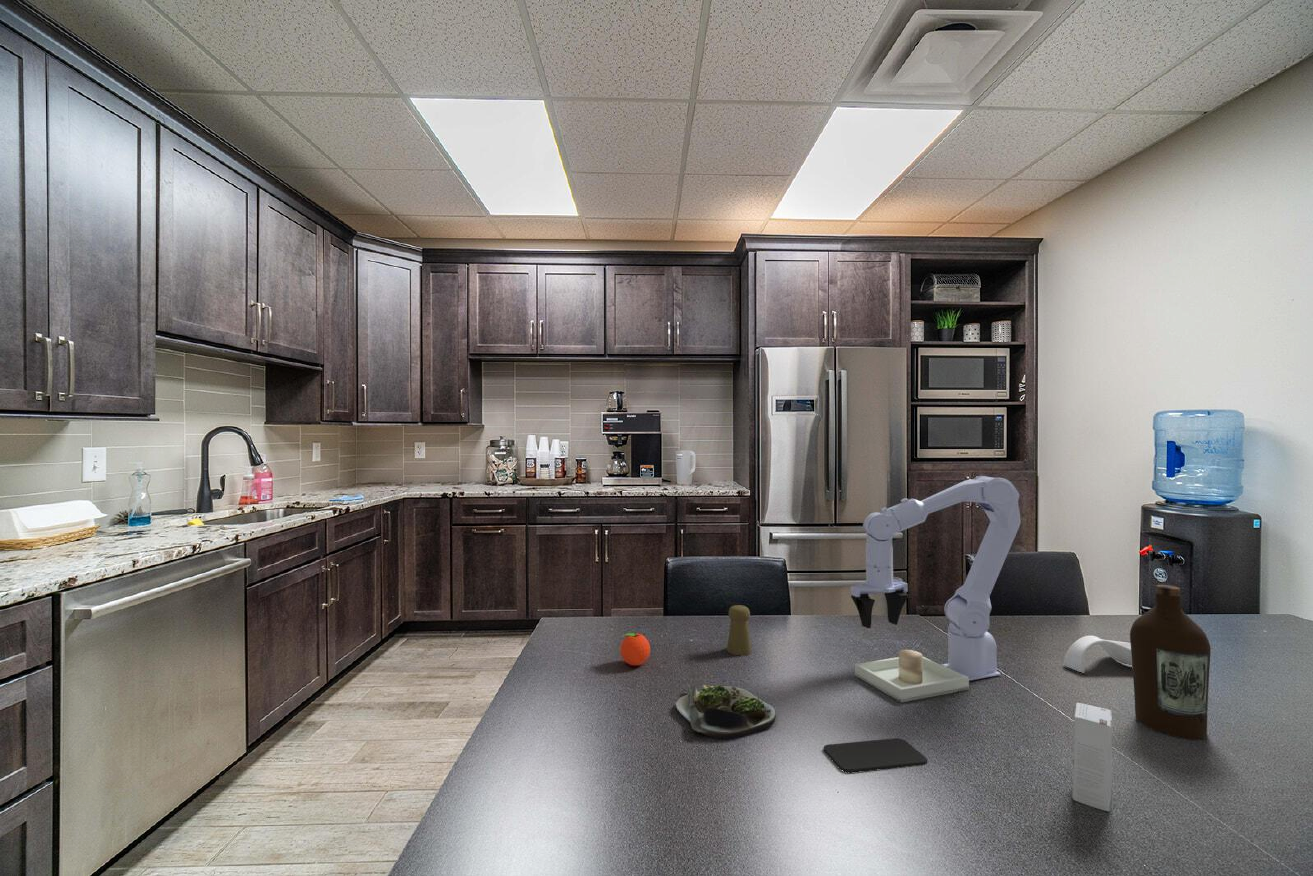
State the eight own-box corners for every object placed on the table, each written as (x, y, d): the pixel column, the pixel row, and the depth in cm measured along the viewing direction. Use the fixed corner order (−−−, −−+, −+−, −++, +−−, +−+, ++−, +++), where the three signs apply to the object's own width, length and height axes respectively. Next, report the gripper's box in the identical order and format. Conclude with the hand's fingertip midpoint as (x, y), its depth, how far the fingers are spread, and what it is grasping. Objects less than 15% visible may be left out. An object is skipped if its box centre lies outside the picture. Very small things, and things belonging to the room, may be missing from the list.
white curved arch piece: (1128, 654, 134) (1127, 624, 134) (1184, 673, 122) (1183, 641, 122) (1049, 662, 128) (1049, 631, 129) (1100, 683, 117) (1099, 649, 117)
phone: (931, 761, 86) (844, 770, 84) (931, 767, 86) (844, 776, 84) (901, 737, 94) (820, 745, 91) (901, 742, 94) (820, 750, 91)
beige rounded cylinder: (910, 673, 119) (910, 648, 119) (927, 682, 115) (927, 656, 115) (893, 676, 118) (893, 651, 118) (910, 685, 114) (910, 659, 114)
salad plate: (653, 701, 108) (653, 678, 109) (729, 685, 116) (729, 663, 116) (703, 750, 91) (703, 722, 91) (788, 726, 99) (788, 700, 99)
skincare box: (1074, 781, 82) (1073, 700, 82) (1113, 793, 79) (1112, 709, 79) (1071, 801, 77) (1070, 715, 78) (1113, 815, 74) (1111, 725, 75)
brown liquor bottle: (1119, 708, 105) (1117, 577, 106) (1188, 716, 102) (1186, 582, 102) (1150, 736, 95) (1148, 591, 95) (1227, 746, 92) (1225, 596, 92)
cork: (751, 656, 131) (751, 610, 131) (726, 654, 132) (726, 609, 132) (752, 647, 137) (752, 603, 137) (727, 646, 138) (727, 602, 138)
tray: (917, 665, 126) (917, 654, 126) (969, 689, 113) (968, 677, 113) (854, 675, 120) (854, 664, 120) (901, 702, 107) (901, 689, 107)
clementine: (610, 667, 125) (610, 635, 125) (623, 656, 131) (623, 626, 131) (642, 672, 122) (643, 640, 122) (654, 661, 128) (654, 630, 128)
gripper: (865, 571, 119) (866, 634, 119) (917, 567, 124) (918, 627, 124) (844, 565, 126) (844, 624, 126) (894, 560, 131) (895, 617, 131)
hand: (879, 625), depth 125 cm, fingers open, 7 cm apart
